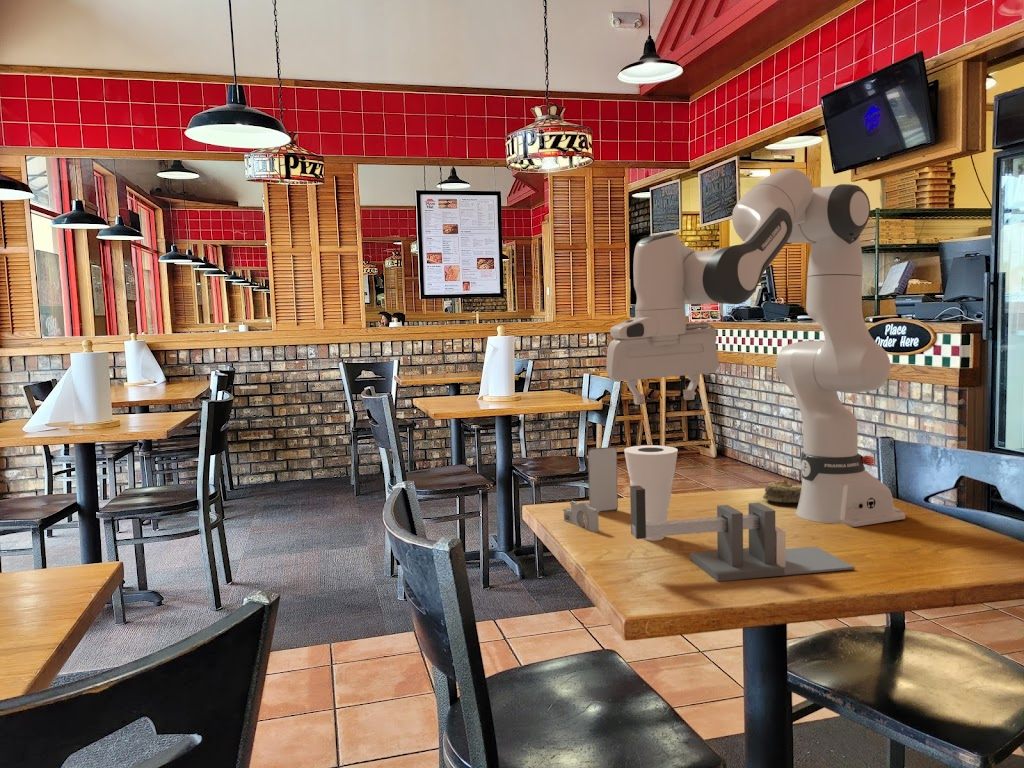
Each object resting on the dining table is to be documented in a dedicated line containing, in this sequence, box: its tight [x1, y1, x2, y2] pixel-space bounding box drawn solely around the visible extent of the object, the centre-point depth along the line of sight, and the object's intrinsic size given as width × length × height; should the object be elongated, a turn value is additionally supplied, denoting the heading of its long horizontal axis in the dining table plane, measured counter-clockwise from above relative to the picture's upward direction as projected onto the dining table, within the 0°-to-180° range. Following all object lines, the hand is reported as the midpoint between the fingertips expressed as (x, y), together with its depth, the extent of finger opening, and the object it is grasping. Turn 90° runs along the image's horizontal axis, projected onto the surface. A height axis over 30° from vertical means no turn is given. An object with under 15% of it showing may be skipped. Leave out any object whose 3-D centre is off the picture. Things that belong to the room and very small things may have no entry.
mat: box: [783, 546, 855, 576], centre depth 135 cm, size 13×12×1 cm
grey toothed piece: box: [562, 500, 601, 533], centre depth 161 cm, size 12×2×6 cm, turn 29°
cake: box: [762, 477, 801, 503], centre depth 179 cm, size 10×10×5 cm
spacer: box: [775, 525, 786, 567], centre depth 134 cm, size 2×6×6 cm, turn 9°
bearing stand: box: [689, 502, 785, 582], centre depth 132 cm, size 12×12×10 cm
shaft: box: [629, 485, 760, 540], centre depth 131 cm, size 23×3×8 cm, turn 99°
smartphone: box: [587, 446, 619, 513], centre depth 173 cm, size 7×1×15 cm, turn 106°
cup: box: [623, 444, 678, 542], centre depth 152 cm, size 11×11×18 cm
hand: (664, 401), depth 136 cm, fingers open, 8 cm apart
